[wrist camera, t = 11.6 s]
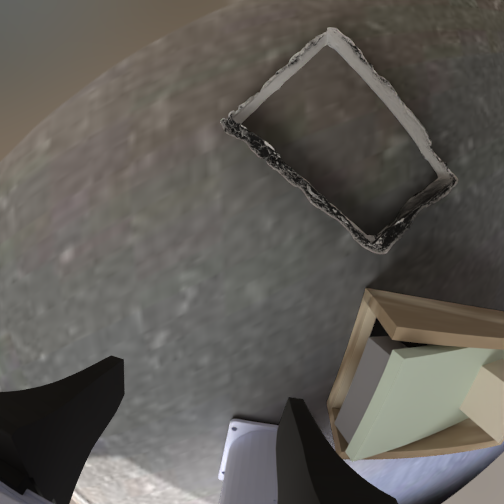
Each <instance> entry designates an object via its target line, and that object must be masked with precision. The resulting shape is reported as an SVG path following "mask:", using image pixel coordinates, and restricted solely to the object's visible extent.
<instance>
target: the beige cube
mask: <svg viewBox="0 0 504 504" xmlns="http://www.w3.org/2000/svg"><path fill="white" fill-rule="evenodd" d="M459 409H460V410H461V411H462V412H463V413H465V414H466V415H467V416H468V417H469V418H470V419H471V420H473V421H474V422H475V423H476V424H477V425H478V426H480V427H481V428H482V429H483V430H484V431H485V432H486V433H488V434H489V435H490V436H491V437H492V438H493V439H494V440H496V441H497V442H498V443H499V442H500V441H502V440H503V439H504V359H500V360H497V361H495V362H492V363H489V364H486V365H483V366H481V368H480V370H479V372H478V374H477V376H476V378H475V380H474V382H473V384H472V386H471V388H470V390H469V392H468V394H467V395H466V397H465V399H464V401H463V403H462V404H461V406H460V408H459Z"/></svg>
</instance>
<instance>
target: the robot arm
mask: <svg viewBox="0 0 504 504" xmlns="http://www.w3.org/2000/svg"><path fill="white" fill-rule="evenodd" d="M124 394H125V393H124V359H121V358H117V357H114V356H109V357H107V358H105V359H104V360H102V361H100V362H98V363H96V364H94V365H92V366H90V367H88V368H86V369H84V370H82V371H80V372H78V373H76V374H73V375H71V376H69V377H66V378H64V379H62V380H59V381H56V382H54V383H50V384H47V385H44V386H40V387H36V388H31V389H26V390H20V391H11V392H0V504H69V503H70V500H71V497H72V494H73V491H74V489H75V486H76V483H77V481H78V478H79V476H80V474H81V471H82V469H83V467H84V464H85V462H86V460H87V458H88V456H89V454H90V452H91V450H92V448H93V446H94V445H95V443H96V442H97V440H98V439H99V437H100V436H101V434H102V433H103V431H104V430H105V428H106V427H107V425H108V424H109V422H110V421H111V419H112V417H113V416H114V414H115V413H116V411H117V409H118V407H119V405H120V403H121V401H122V399H123V396H124ZM233 427H236V428H233ZM218 478H219V479H220V480H223V484H222V489H221V495H220V500H219V504H398V503H397V500H396V499H395V498H393V497H392V496H390V495H388V494H386V493H384V492H383V491H381V490H379V489H378V488H376V487H375V486H373V485H372V484H370V483H369V482H367V481H366V480H365V479H364V478H362V477H361V476H360V475H359V474H357V473H356V472H355V471H354V470H353V469H352V468H351V467H350V466H349V465H348V464H347V463H346V462H345V461H344V460H343V459H342V458H341V457H340V456H339V455H338V454H337V453H336V451H335V450H334V449H333V448H332V446H331V445H330V444H329V442H328V441H327V439H326V438H325V436H324V435H323V433H322V432H321V430H320V429H319V427H318V426H317V424H316V422H315V420H314V419H313V417H312V415H311V413H310V411H309V410H308V408H307V406H306V404H305V402H304V400H303V399H297V398H290V397H289V398H288V401H287V404H286V406H285V409H284V412H283V415H282V418H281V421H280V423H279V425H272V424H266V423H259V422H253V421H247V420H241V419H232V420H231V421H230V424H229V429H228V434H227V438H226V443H225V447H224V452H223V457H222V461H221V466H220V471H219V475H218Z"/></svg>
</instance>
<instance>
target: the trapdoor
mask: <svg viewBox="0 0 504 504" xmlns="http://www.w3.org/2000/svg"><path fill="white" fill-rule="evenodd" d="M500 359H504V350H500V349H484V348H470V347H457V346H445V345H435V344H434V345H428V346H420V347H412V348H408V347H406V346H405V345H404V344H403V343H401V342H400V341H397V340H392V339H391V338H390V336H379V337H369V338H368V340H367V343H366V346H365V349H364V352H363V354H362V357H361V360H360V362H359V365H358V368H357V370H356V373H355V375H354V378H353V380H352V383H351V385H350V388H349V390H348V393H347V395H346V397H345V400H344V402H343V404H342V407H341V409H340V411H339V414H338V416H337V418H336V420H335V423H334V424H335V425H336V427H337V428H338V430H339V431H340V433H341V434H342V435H343V437H344V438H345V440H346V441H347V442H348V444H349V445H348V447H347V449H346V451H345V452H346V454H347V455H348V457H349V458H350V460H351V461H352V462H353V461H357V460H360V459H364V458H367V457H371V456H374V455H377V454H380V453H383V452H386V451H389V450H392V449H395V448H398V447H401V446H404V445H407V444H409V443H412V442H415V441H417V440H420V439H422V438H425V437H427V436H430V435H432V434H435V433H437V432H439V431H442V430H444V429H446V428H448V427H450V426H453V425H455V424H457V423H459V422H461V421H463V420H465V419H467V418H469V417H468V416H467V415H466V414H465V413H463V412H462V411H461V410H460V409H459V408H460V406H461V404H462V403H463V401H464V399H465V397H466V395H467V394H468V392H469V390H470V388H471V386H472V384H473V382H474V380H475V378H476V376H477V374H478V372H479V370H480V368H481V366H483V365H486V364H489V363H492V362H495V361H497V360H500Z"/></svg>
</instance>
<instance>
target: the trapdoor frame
mask: <svg viewBox="0 0 504 504" xmlns="http://www.w3.org/2000/svg"><path fill="white" fill-rule="evenodd" d="M376 317H377V319H378V320H379V322H380V323H381V325H382V326H383V327H384V329H385V330H386V332H387V333H388V335H389V336H390V338H391V339H392V340H397V341H406V342H415V343H425V344H435V345H445V346H457V347H470V348H484V349H500V350H504V311H499V310H492V309H486V308H480V307H474V306H468V305H462V304H457V303H451V302H445V301H439V300H433V299H427V298H422V297H416V296H410V295H404V294H399V293H393V292H388V291H382V290H376V289H371V288H365V292H364V295H363V298H362V302H361V305H360V308H359V312H358V315H357V318H356V321H355V325H354V328H353V331H352V334H351V337H350V340H349V343H348V346H347V349H346V352H345V355H344V357H343V360H342V363H341V366H340V369H339V371H338V374H337V377H336V379H335V382H334V385H333V387H332V390H331V392H330V395H329V398H328V400H327V403H326V404H327V409H328V414H329V419H330V424H331V429H332V434H333V439H334V444H335V450H336V453H337V454H338V455H339V456H340V457H341V458H342V459H350V458H349V457H348V455H347V454H346V452H345V451H346V449H347V447H348V445H349V444H348V442H347V441H346V440H345V438H344V437H343V435H342V434H341V433H340V431H339V430H338V428H337V427H336V425H335V424H334V423H335V420H336V418H337V416H338V414H339V411H340V409H341V407H342V404H343V402H344V400H345V397H346V395H347V393H348V390H349V388H350V385H351V383H352V380H353V378H354V375H355V373H356V370H357V368H358V365H359V362H360V360H361V357H362V354H363V352H364V349H365V346H366V343H367V340H368V338H369V337H370V334H371V331H372V328H373V325H374V322H375V319H376ZM503 441H504V439H503V440H502V441H500V442H499V443H498V442H497V441H496V440H494V439H493V438H492V437H491V436H490V435H489V434H488V433H486V432H485V431H484V430H483V429H482V428H481V427H480V426H478V425H477V424H476V423H475V422H474V421H473V420H471V419H470V418H467V419H465V420H463V421H461V422H459V423H457V424H455V425H453V426H450V427H448V428H446V429H444V430H442V431H439V432H437V433H435V434H432V435H430V436H427V437H425V438H422V439H420V440H417V441H415V442H412V443H409V444H407V445H404V446H401V447H398V448H395V449H392V450H389V451H386V452H383V453H380V454H377V455H374V456H371V457H367V458H364V459H398V458H414V457H426V456H436V455H444V454H452V453H459V452H465V451H471V450H477V449H482V448H488V447H492V446H497V445H501V444H502V442H503Z"/></svg>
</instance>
